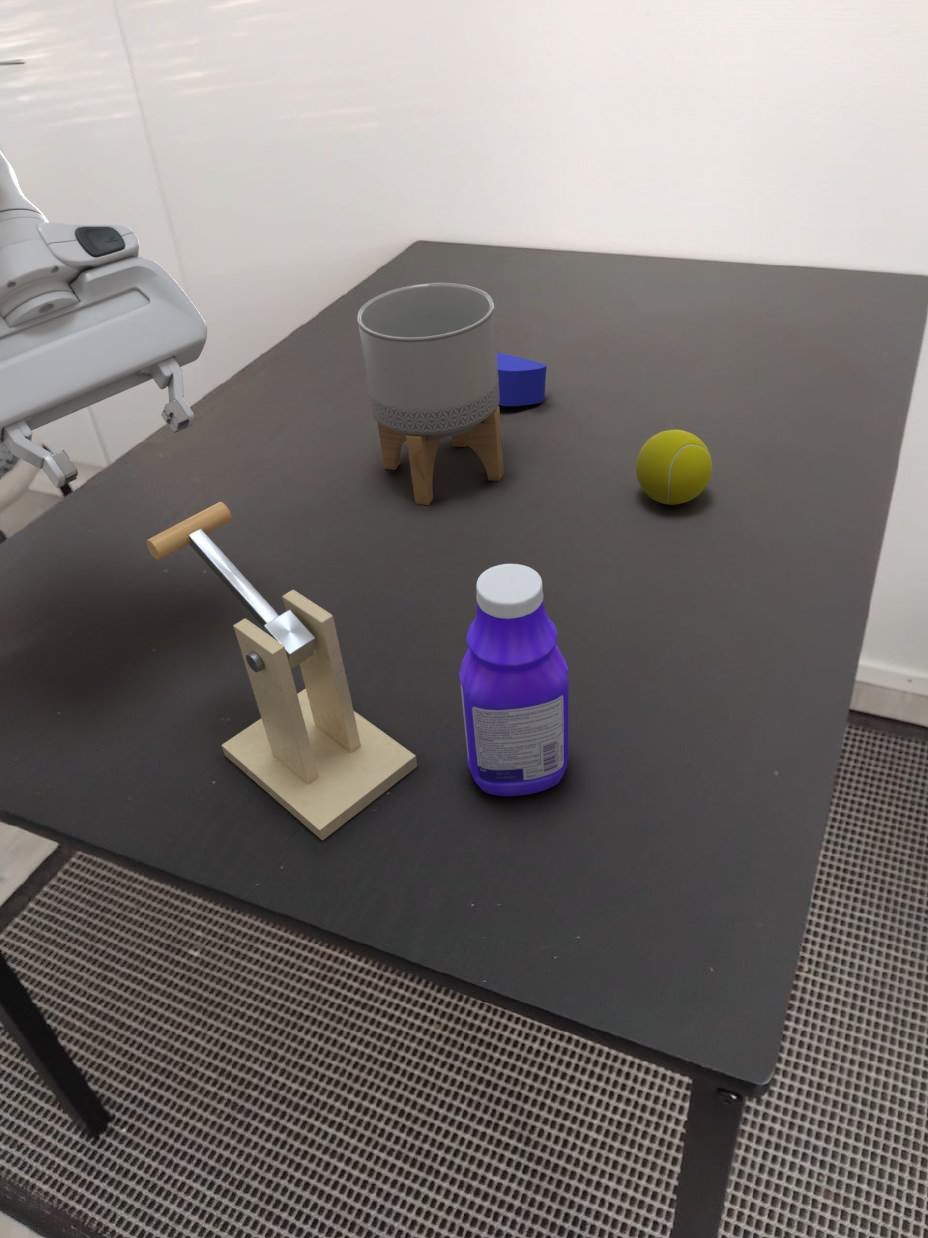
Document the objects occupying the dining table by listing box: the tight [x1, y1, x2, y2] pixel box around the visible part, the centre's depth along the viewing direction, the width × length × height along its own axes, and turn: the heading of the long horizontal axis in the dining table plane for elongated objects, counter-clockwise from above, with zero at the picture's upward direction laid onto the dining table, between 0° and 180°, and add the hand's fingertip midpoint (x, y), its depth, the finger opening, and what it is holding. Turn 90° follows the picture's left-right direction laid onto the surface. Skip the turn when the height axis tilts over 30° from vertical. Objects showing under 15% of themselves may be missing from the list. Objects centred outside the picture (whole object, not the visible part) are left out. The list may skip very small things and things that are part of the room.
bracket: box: [221, 589, 418, 841], centre depth 69 cm, size 12×9×14 cm
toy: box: [497, 351, 548, 407], centre depth 114 cm, size 12×6×10 cm
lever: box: [145, 501, 316, 670], centre depth 67 cm, size 13×6×2 cm, turn 45°
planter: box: [356, 282, 504, 506], centre depth 98 cm, size 13×13×18 cm
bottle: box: [458, 563, 570, 797], centre depth 65 cm, size 7×6×17 cm
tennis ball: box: [635, 429, 713, 506], centre depth 94 cm, size 7×7×7 cm
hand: (128, 452), depth 69 cm, fingers open, 8 cm apart
